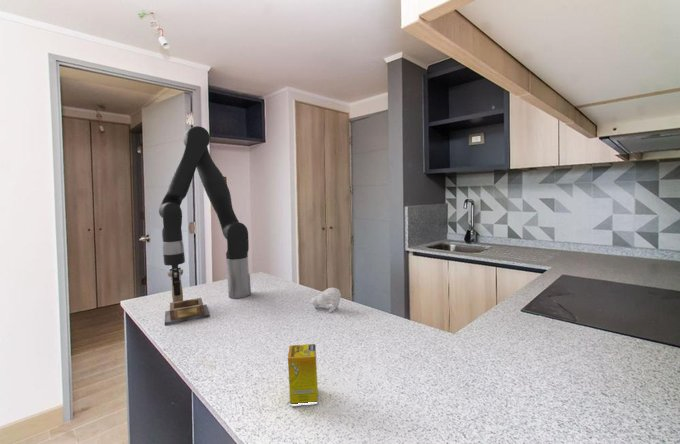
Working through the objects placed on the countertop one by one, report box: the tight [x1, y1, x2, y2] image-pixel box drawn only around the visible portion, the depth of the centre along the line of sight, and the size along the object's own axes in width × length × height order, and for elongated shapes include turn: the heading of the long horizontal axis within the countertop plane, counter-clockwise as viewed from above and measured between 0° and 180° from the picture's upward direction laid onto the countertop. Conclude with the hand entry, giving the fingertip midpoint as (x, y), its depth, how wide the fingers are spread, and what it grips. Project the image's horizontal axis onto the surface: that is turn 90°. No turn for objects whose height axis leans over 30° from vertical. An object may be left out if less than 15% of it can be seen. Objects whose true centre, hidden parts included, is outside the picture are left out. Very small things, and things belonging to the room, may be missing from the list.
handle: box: [167, 269, 184, 302], centre depth 133 cm, size 5×6×15 cm
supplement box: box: [287, 343, 319, 404], centre depth 72 cm, size 6×6×11 cm
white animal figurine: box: [311, 287, 342, 313], centre depth 127 cm, size 6×8×12 cm
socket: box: [164, 297, 211, 326], centre depth 125 cm, size 15×13×4 cm
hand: (177, 293), depth 133 cm, fingers closed on handle, 4 cm apart
